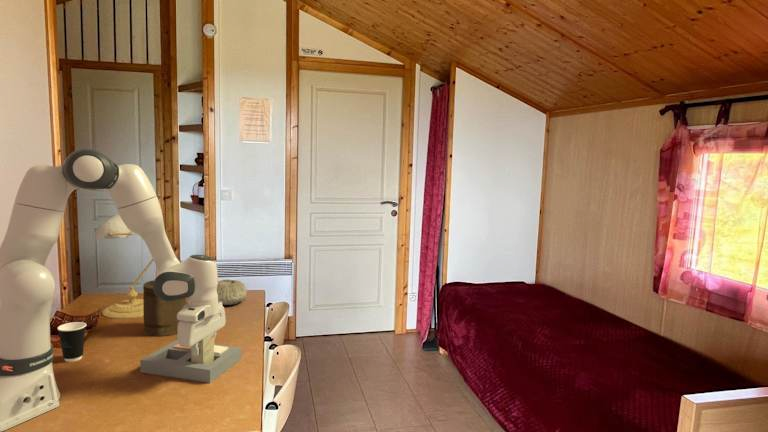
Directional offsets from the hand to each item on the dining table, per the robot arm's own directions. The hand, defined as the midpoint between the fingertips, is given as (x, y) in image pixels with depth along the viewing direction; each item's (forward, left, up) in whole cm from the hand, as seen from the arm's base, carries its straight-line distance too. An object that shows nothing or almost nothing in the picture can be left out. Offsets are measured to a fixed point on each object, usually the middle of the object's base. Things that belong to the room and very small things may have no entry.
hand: (203, 350), depth 152 cm
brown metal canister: (+27, +35, -7) cm, 45 cm away
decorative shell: (+65, +31, -7) cm, 72 cm away
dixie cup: (-5, +45, -7) cm, 45 cm away
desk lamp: (+42, +63, -7) cm, 76 cm away
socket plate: (+2, +6, -7) cm, 9 cm away
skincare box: (0, 0, -7) cm, 7 cm away
